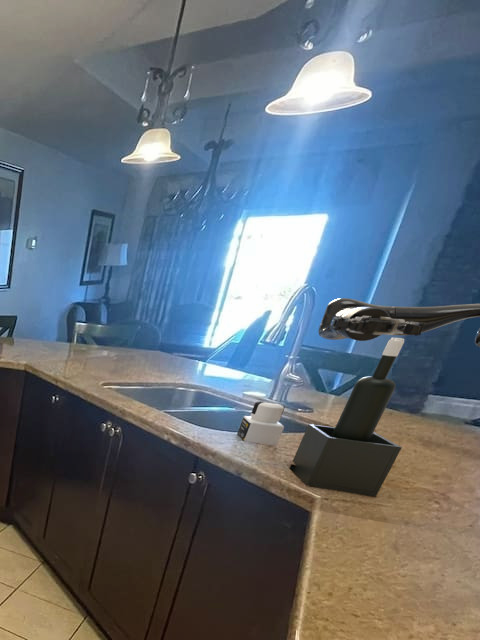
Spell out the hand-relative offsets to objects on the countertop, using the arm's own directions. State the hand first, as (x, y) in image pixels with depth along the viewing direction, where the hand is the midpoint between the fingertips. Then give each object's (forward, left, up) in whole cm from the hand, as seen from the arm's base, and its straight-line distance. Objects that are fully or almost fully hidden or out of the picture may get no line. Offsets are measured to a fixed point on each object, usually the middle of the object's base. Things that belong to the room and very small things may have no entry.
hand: (387, 328), depth 105 cm
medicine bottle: (+11, -10, -32) cm, 36 cm away
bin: (+2, +12, -32) cm, 35 cm away
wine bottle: (+3, +12, -31) cm, 34 cm away
